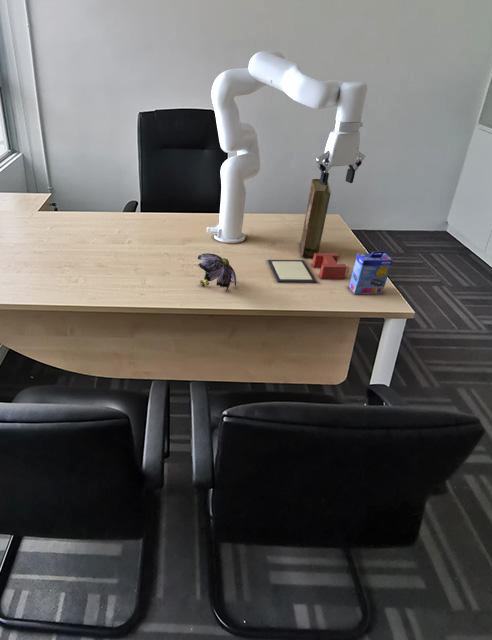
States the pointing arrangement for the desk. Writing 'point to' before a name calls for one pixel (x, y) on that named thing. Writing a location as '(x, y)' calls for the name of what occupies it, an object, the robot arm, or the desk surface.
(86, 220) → the desk surface
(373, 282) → the ink cartridge box
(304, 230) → the book
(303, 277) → the desk mat
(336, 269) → the letter I
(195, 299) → the desk surface
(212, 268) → the decorative flower
